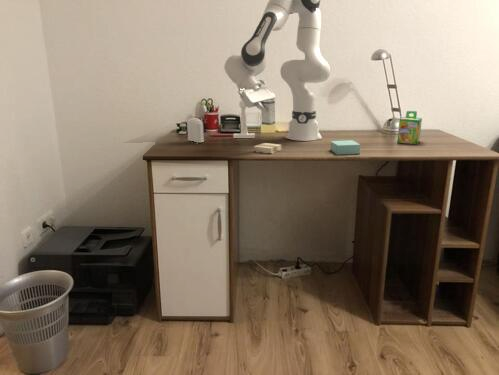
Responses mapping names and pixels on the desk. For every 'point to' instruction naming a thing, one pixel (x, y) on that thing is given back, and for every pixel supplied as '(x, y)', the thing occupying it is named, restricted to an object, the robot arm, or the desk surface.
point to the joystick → (243, 123)
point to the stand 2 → (345, 147)
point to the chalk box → (409, 129)
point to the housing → (268, 113)
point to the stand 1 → (267, 148)
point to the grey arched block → (195, 130)
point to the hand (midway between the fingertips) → (269, 110)
